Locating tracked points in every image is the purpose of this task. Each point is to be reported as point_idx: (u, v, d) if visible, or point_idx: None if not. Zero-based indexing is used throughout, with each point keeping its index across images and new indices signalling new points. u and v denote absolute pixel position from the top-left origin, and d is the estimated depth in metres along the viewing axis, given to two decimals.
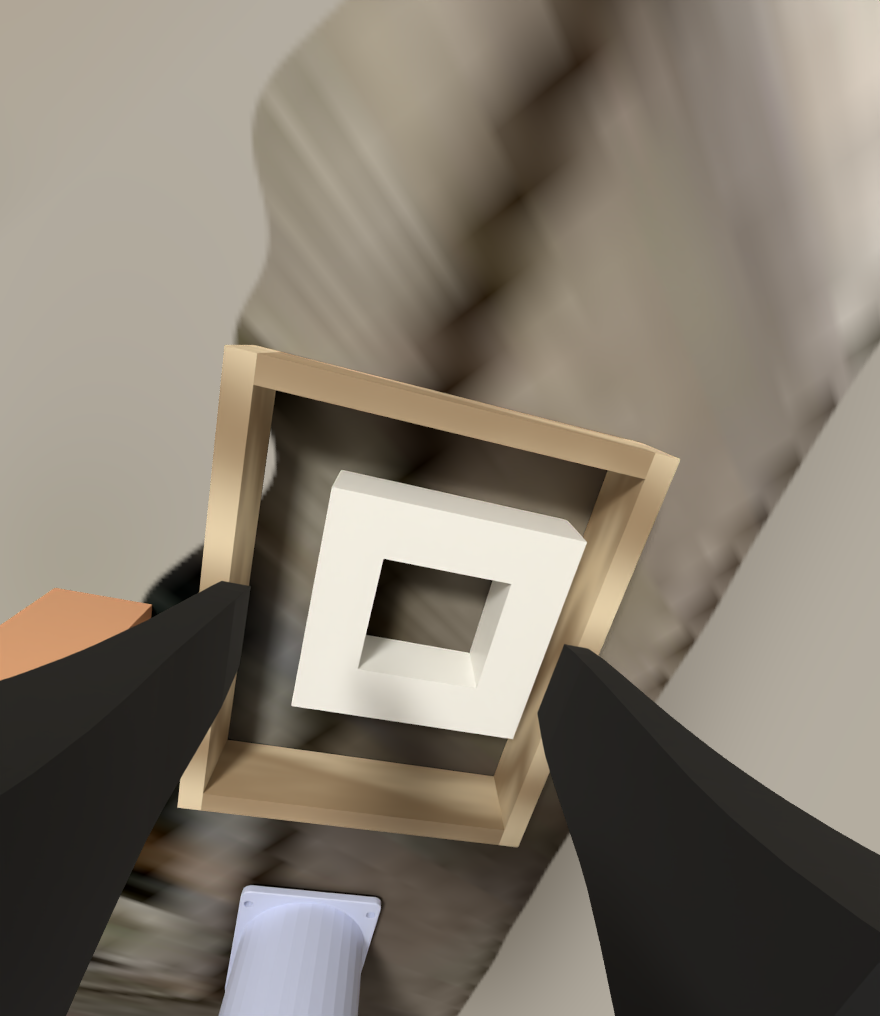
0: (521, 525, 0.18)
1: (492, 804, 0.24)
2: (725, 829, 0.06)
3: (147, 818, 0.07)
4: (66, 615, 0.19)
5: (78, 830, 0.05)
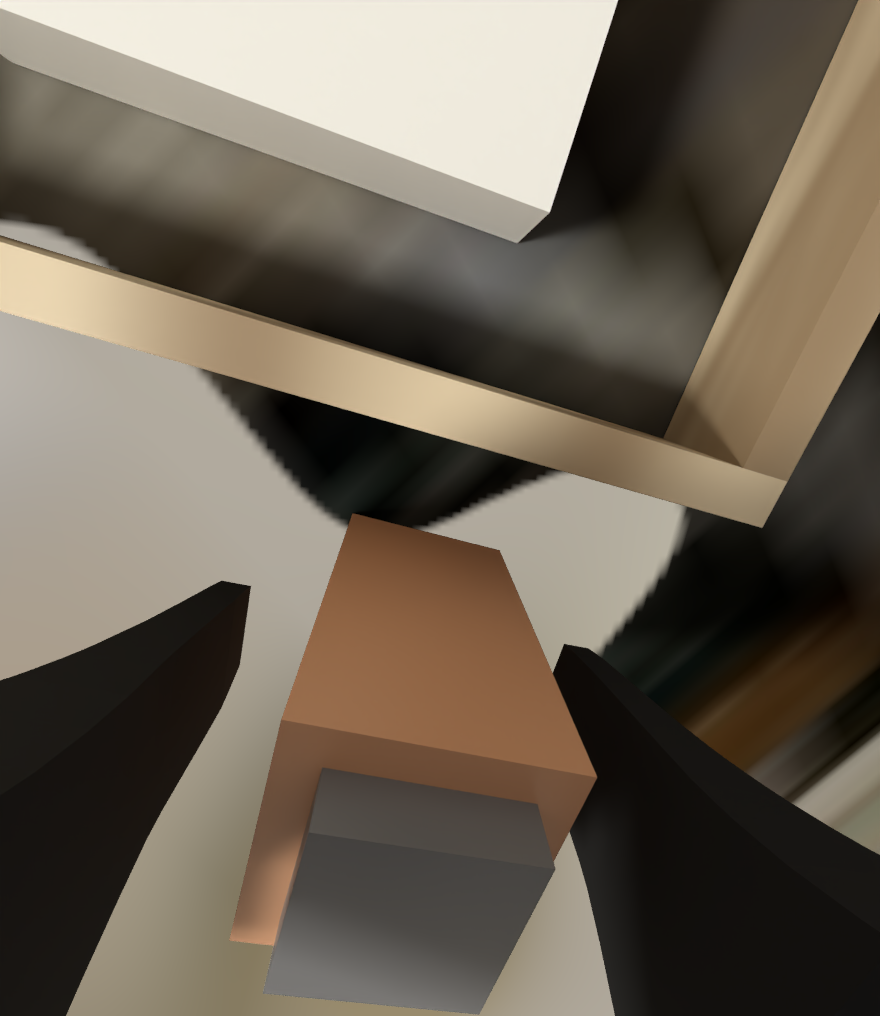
0: None
1: None
2: (726, 829, 0.06)
3: (147, 818, 0.07)
4: None
5: (78, 830, 0.05)
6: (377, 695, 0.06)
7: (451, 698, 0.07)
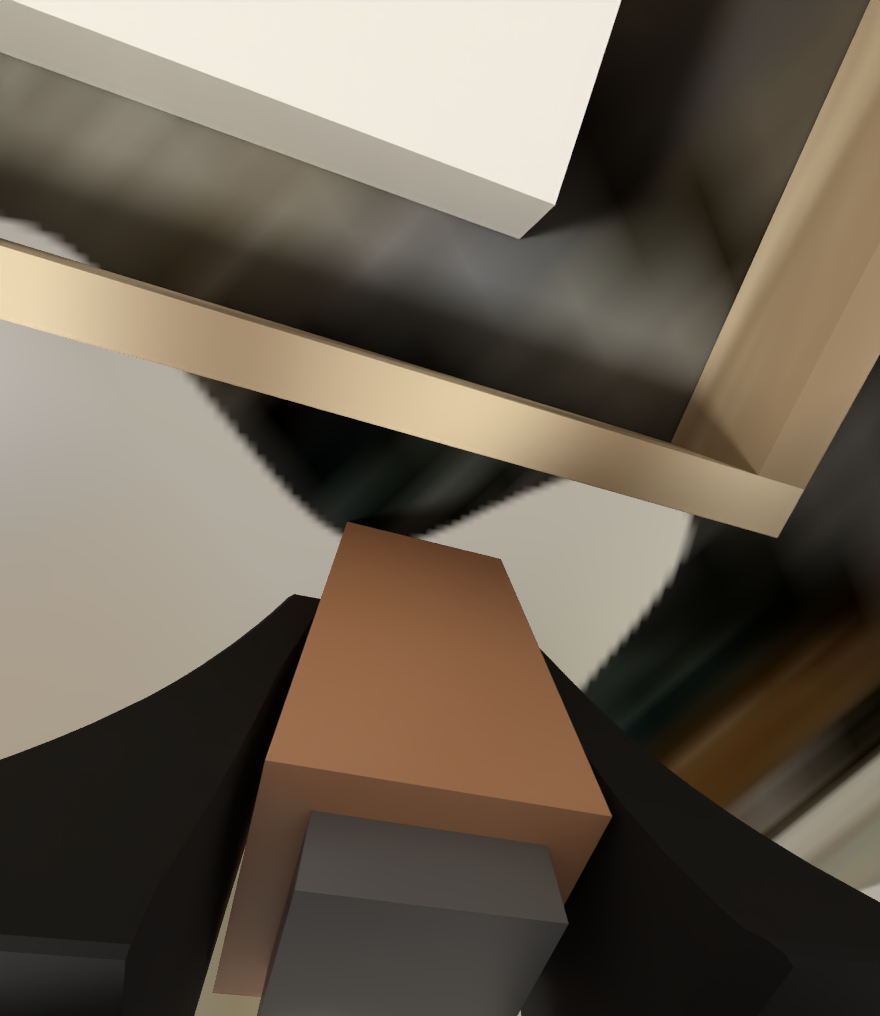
0: None
1: None
2: (616, 815, 0.06)
3: (247, 829, 0.07)
4: None
5: (221, 845, 0.05)
6: (371, 727, 0.06)
7: (452, 728, 0.06)
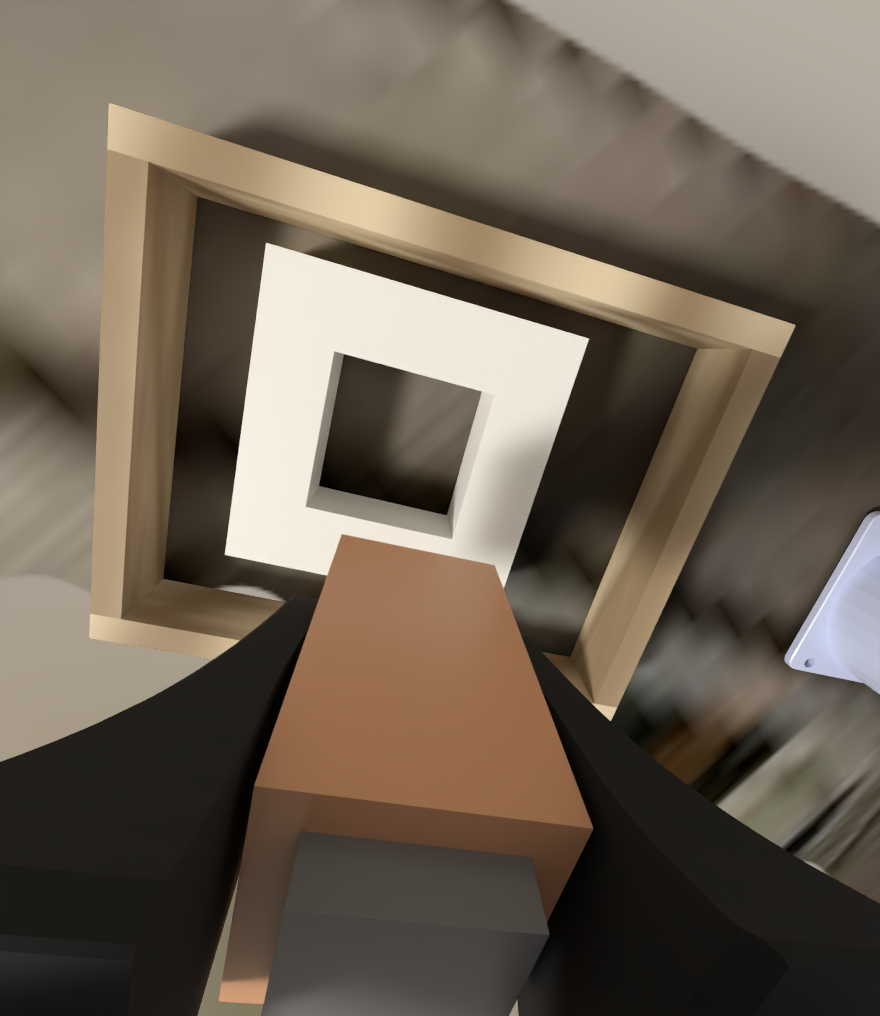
0: (257, 337, 0.14)
1: (721, 360, 0.16)
2: (613, 815, 0.06)
3: None
4: None
5: (225, 846, 0.05)
6: (358, 748, 0.06)
7: (437, 745, 0.06)
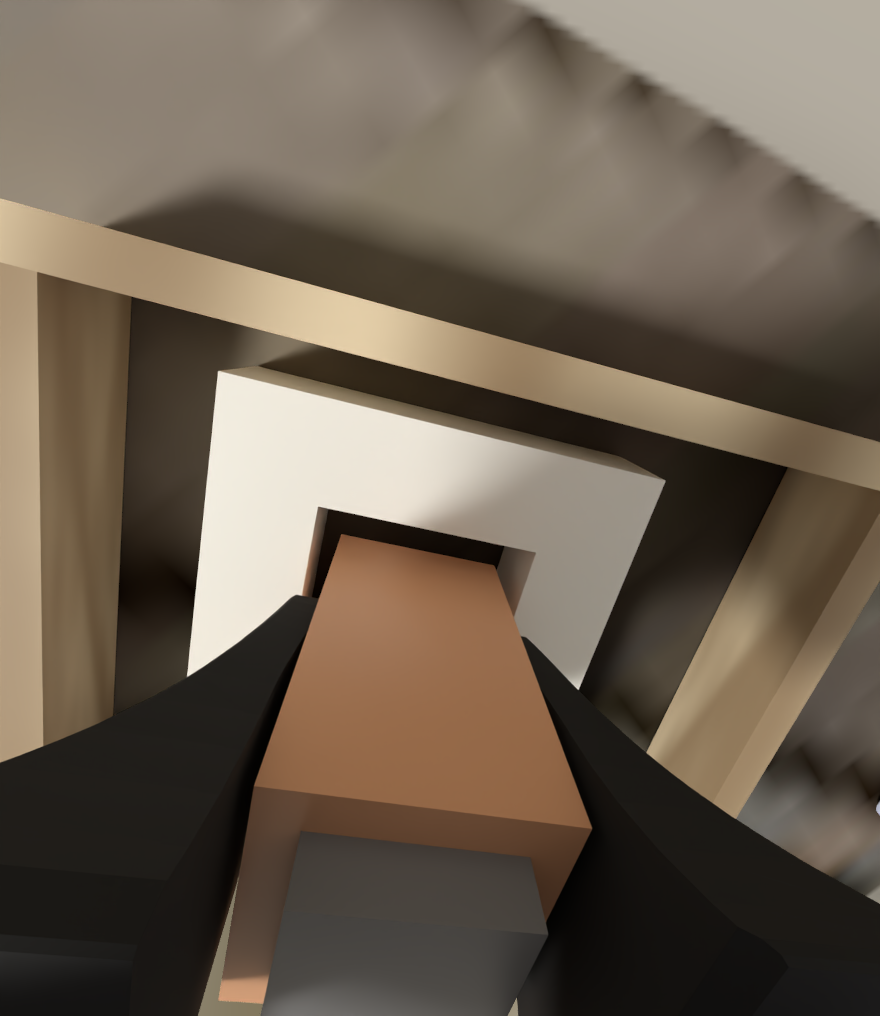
0: (212, 488, 0.11)
1: (833, 492, 0.12)
2: (612, 814, 0.06)
3: None
4: None
5: (225, 846, 0.05)
6: (358, 748, 0.06)
7: (437, 745, 0.06)
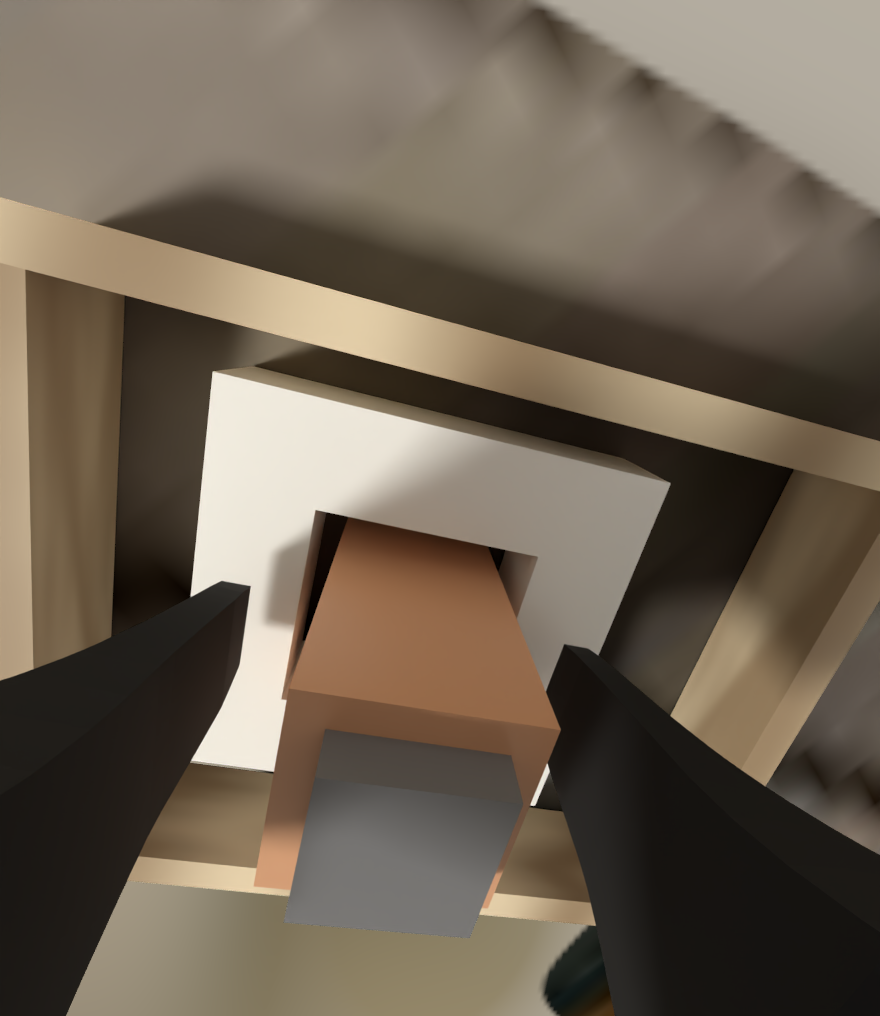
0: (207, 491, 0.10)
1: (841, 494, 0.12)
2: (726, 831, 0.06)
3: (147, 818, 0.07)
4: None
5: (78, 830, 0.05)
6: (370, 669, 0.07)
7: (435, 670, 0.08)
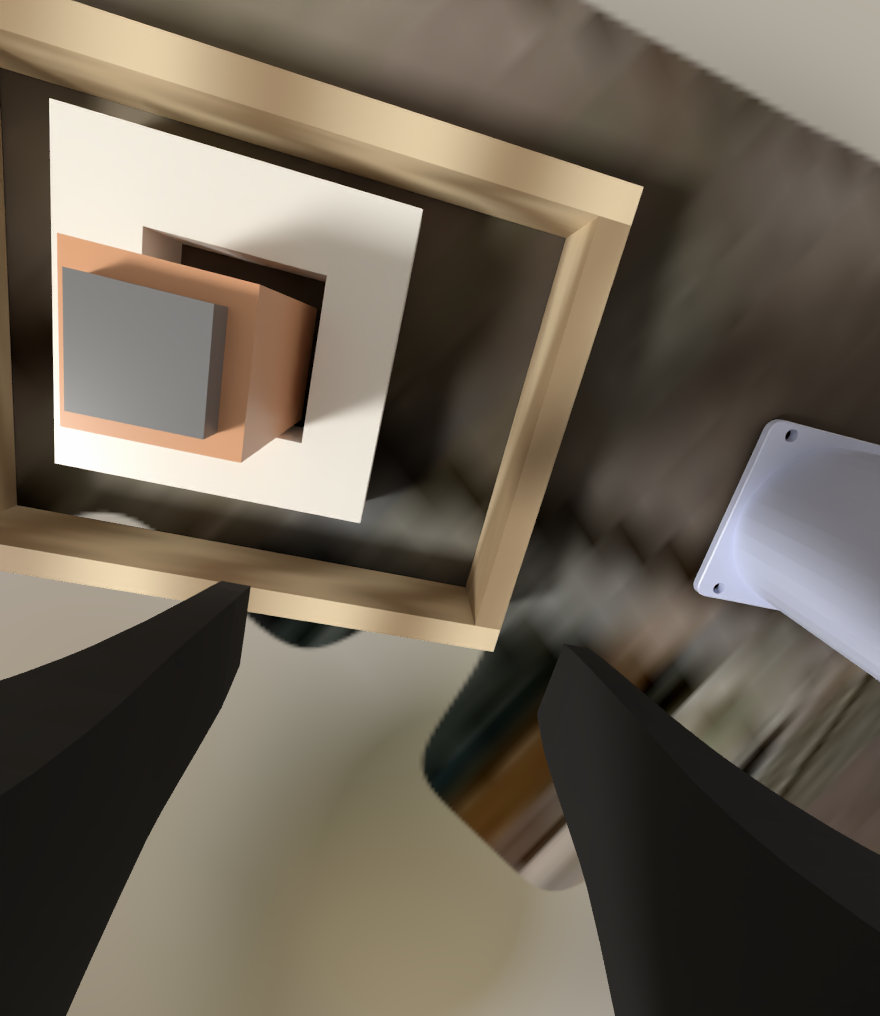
0: (59, 213, 0.13)
1: (579, 239, 0.15)
2: (725, 829, 0.06)
3: (147, 818, 0.07)
4: None
5: (78, 830, 0.05)
6: None
7: None
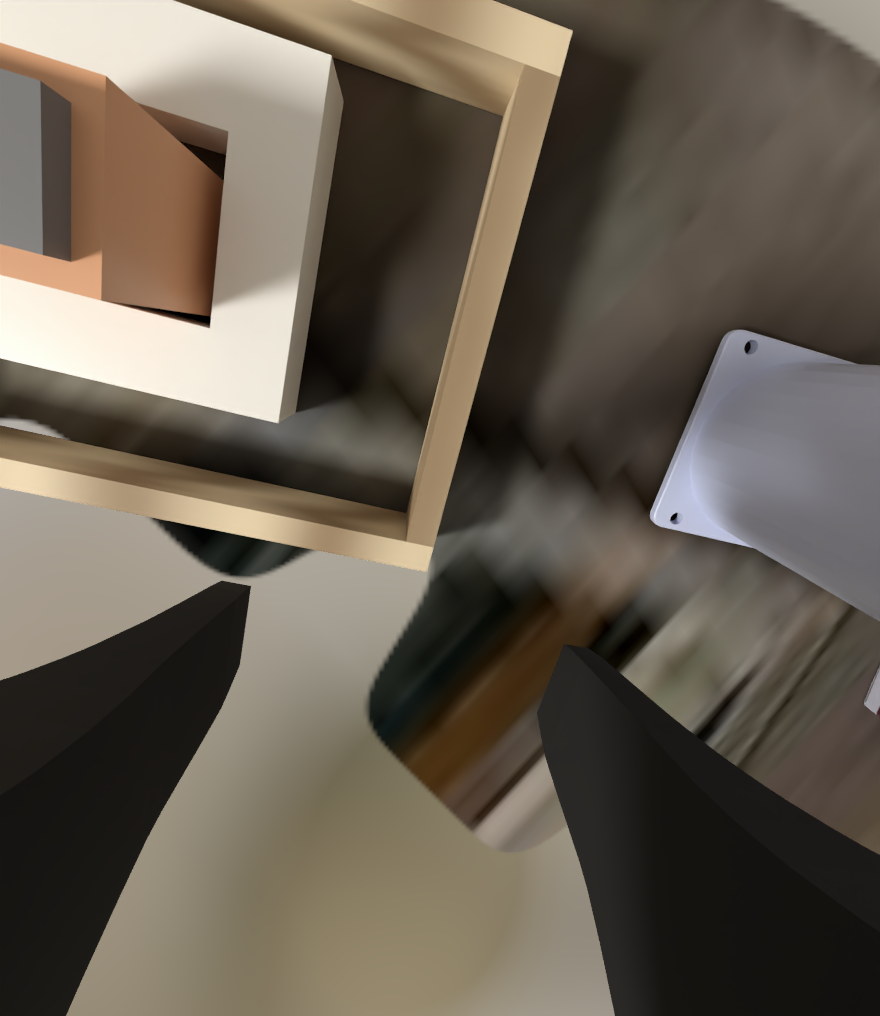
0: None
1: (510, 104, 0.14)
2: (725, 830, 0.06)
3: (147, 818, 0.07)
4: None
5: (78, 830, 0.05)
6: None
7: None
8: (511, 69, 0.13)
